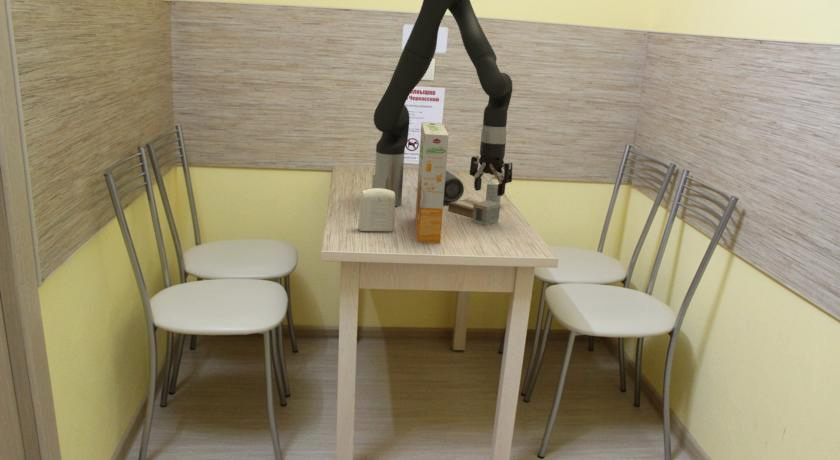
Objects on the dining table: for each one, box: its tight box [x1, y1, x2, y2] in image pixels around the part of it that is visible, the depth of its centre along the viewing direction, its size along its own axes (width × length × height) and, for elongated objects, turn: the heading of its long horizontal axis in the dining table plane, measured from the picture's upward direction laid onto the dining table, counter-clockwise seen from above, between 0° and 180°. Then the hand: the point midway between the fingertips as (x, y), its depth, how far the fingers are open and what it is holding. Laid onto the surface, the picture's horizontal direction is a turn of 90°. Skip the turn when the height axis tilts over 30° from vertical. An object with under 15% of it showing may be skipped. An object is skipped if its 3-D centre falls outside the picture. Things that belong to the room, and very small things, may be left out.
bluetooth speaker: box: [443, 170, 465, 203], centre depth 236 cm, size 23×9×10 cm, turn 20°
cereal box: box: [414, 121, 450, 244], centre depth 193 cm, size 22×6×30 cm, turn 2°
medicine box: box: [485, 178, 502, 204], centre depth 228 cm, size 8×4×9 cm, turn 168°
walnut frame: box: [447, 197, 482, 218], centre depth 221 cm, size 11×11×3 cm
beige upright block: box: [358, 188, 396, 232], centre depth 193 cm, size 10×4×12 cm, turn 103°
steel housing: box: [471, 199, 501, 227], centre depth 210 cm, size 7×5×6 cm
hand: (488, 192), depth 208 cm, fingers open, 8 cm apart
